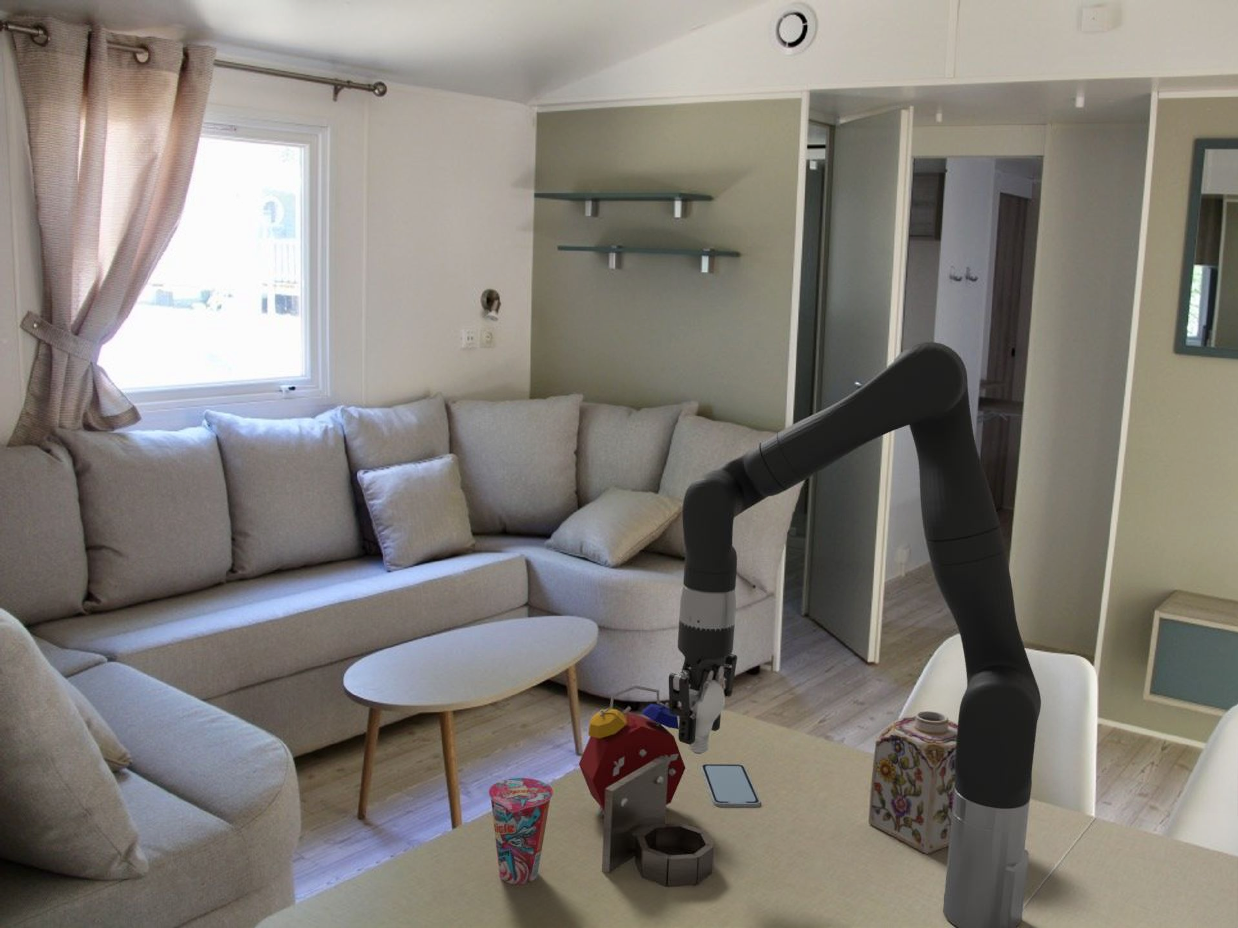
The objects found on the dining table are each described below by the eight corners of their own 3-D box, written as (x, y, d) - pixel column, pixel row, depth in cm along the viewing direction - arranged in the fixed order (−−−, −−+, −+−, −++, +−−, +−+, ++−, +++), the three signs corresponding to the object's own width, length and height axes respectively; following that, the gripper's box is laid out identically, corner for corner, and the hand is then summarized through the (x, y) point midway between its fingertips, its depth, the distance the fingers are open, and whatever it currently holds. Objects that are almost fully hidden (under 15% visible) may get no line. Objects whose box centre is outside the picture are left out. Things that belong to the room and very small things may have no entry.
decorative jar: (926, 856, 175) (937, 737, 172) (865, 824, 185) (874, 710, 181) (979, 835, 182) (991, 720, 179) (918, 805, 192) (928, 695, 188)
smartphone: (744, 763, 204) (761, 803, 189) (743, 768, 204) (761, 808, 189) (699, 763, 203) (714, 803, 188) (699, 768, 203) (713, 808, 188)
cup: (479, 863, 168) (481, 781, 166) (539, 855, 171) (542, 774, 169) (497, 898, 160) (500, 811, 157) (560, 888, 163) (563, 803, 160)
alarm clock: (666, 796, 191) (672, 673, 187) (690, 821, 183) (697, 693, 179) (576, 809, 185) (581, 682, 182) (596, 835, 177) (601, 703, 174)
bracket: (730, 859, 172) (735, 778, 170) (677, 900, 161) (682, 814, 159) (657, 833, 179) (661, 755, 177) (601, 870, 167) (605, 788, 165)
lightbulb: (717, 765, 166) (722, 687, 164) (671, 758, 168) (675, 681, 166) (724, 746, 172) (729, 672, 170) (679, 740, 174) (684, 666, 172)
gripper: (701, 636, 159) (693, 759, 162) (758, 612, 170) (749, 728, 173) (654, 623, 163) (646, 743, 166) (711, 601, 174) (704, 713, 177)
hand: (699, 735), depth 169 cm, fingers closed on lightbulb, 6 cm apart
